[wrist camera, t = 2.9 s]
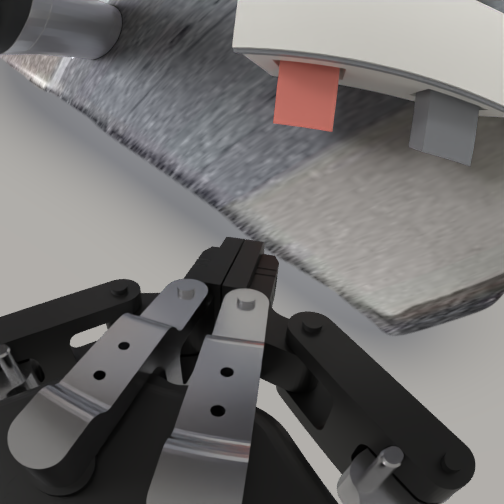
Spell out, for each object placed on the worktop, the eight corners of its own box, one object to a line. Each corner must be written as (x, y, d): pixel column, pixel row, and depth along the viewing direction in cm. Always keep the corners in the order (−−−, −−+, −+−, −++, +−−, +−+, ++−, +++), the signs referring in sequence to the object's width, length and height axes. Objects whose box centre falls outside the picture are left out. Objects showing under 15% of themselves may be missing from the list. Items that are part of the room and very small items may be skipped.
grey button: (408, 147, 28) (422, 151, 23) (416, 90, 25) (431, 85, 21) (451, 159, 27) (470, 166, 22) (459, 104, 24) (479, 103, 20)
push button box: (271, 78, 33) (231, 50, 19) (278, 16, 29) (243, -43, 15) (459, 117, 29) (531, 123, 15) (464, 56, 26) (533, 30, 11)
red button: (281, 122, 30) (273, 123, 25) (287, 66, 27) (280, 56, 23) (331, 130, 29) (332, 131, 24) (338, 73, 26) (340, 64, 22)
